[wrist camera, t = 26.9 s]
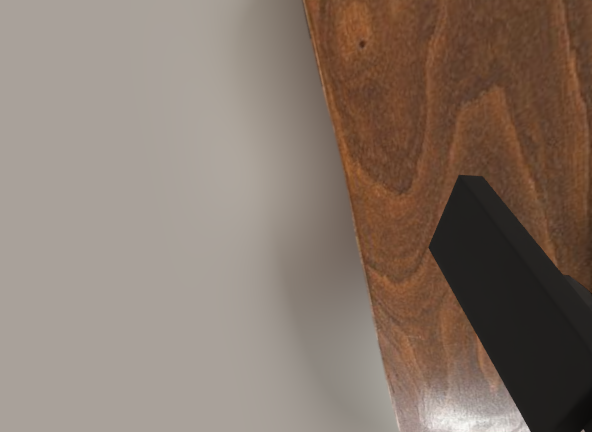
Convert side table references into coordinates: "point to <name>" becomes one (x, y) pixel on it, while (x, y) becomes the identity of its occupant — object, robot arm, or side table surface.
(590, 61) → the side table surface
